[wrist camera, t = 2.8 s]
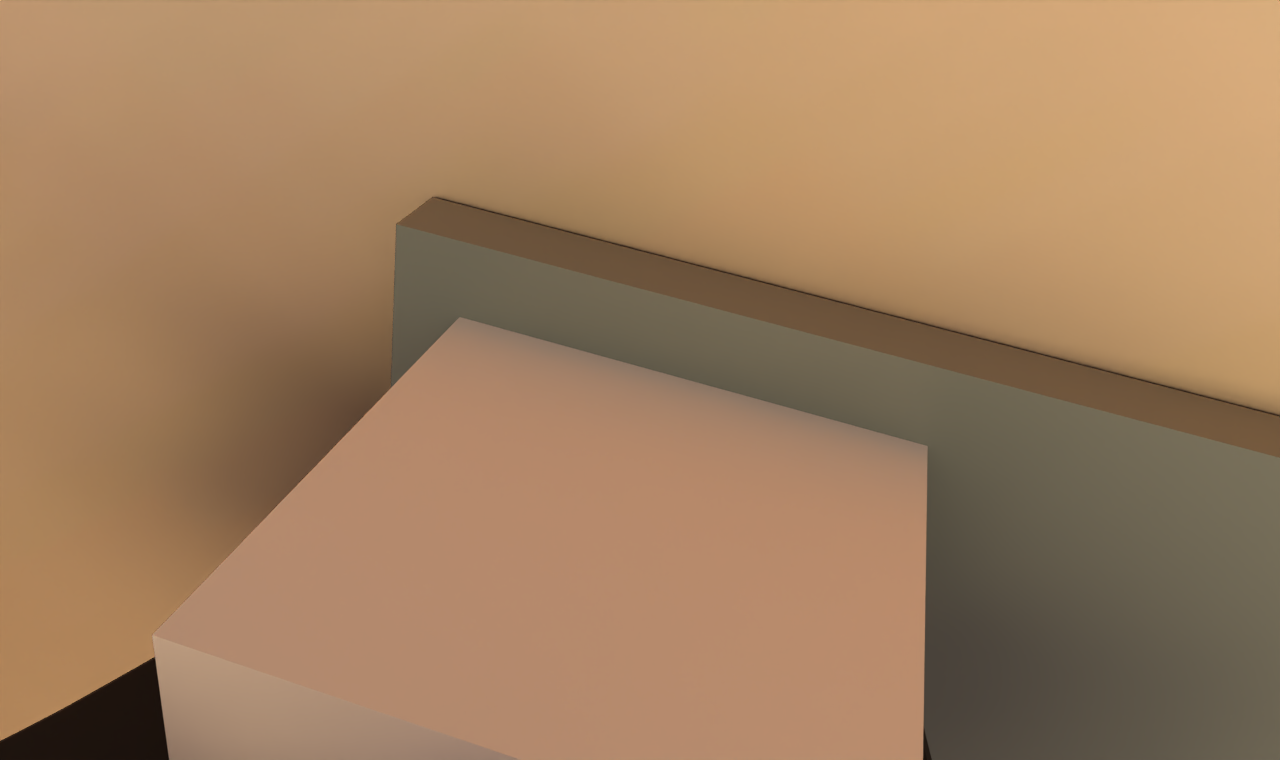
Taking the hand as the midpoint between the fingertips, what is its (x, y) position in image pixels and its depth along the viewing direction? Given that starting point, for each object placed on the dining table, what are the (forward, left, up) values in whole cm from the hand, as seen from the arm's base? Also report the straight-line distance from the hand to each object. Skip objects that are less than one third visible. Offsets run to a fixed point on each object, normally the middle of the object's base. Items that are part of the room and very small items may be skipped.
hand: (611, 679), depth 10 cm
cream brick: (0, 0, -1) cm, 1 cm away
